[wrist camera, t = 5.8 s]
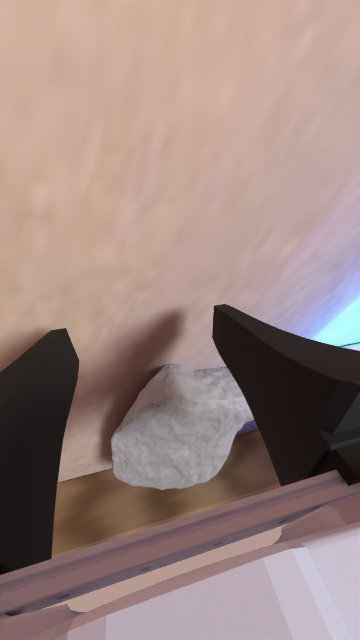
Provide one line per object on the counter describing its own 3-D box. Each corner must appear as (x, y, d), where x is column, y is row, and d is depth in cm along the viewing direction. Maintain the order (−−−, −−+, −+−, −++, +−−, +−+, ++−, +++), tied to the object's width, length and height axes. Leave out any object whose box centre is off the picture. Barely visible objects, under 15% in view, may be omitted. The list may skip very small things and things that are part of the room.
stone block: (112, 433, 22) (204, 447, 23) (98, 488, 17) (212, 500, 19) (137, 336, 17) (252, 363, 18) (126, 380, 12) (277, 410, 14)
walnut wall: (265, 428, 24) (295, 478, 20) (262, 437, 25) (289, 487, 21) (33, 489, 20) (11, 568, 16) (42, 497, 21) (23, 573, 17)
